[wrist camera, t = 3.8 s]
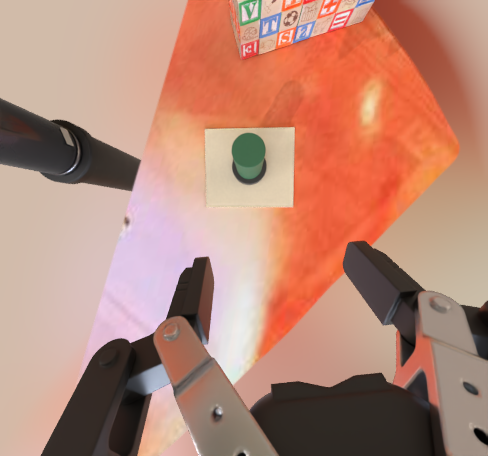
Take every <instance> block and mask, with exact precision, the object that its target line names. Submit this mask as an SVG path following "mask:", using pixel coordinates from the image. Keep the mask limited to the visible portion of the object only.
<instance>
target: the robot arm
mask: <svg viewBox="0 0 488 456" xmlns="http://www.w3.org/2000/svg"><path fill="white" fill-rule="evenodd" d="M82 156H83V150H82V145H81V142H80V140H79V138H78V137H77V135H76V134H75V133H74V132H73V131H71V130H70V129H68V128H66V127H63V126H61V125H58V124H55V123H53V122H51V121H49V120H47V119H45V118H43V117H40V116H38V115H36V114H34V113H31V112H29V111H27V110H25V109H23V108H21V107H18V106H16V105H14V104H12V103H9V102H7V101H5V100H3V99H1V98H0V164H3V165H8V166H13V167H19V168H24V169H29V170H34V171H39V172H44V173H48V174H52V175H57V176H65V175H69V174H71V173H73V172H74V171H75V170H76V169H77V168H78V167H79V165H80V163H81V161H82ZM343 268H344V271H345V273H346V275H347V276H348V277H349V279H350V280H351V282H352V283H353V284H354V286H355V287H356V288H357V290H358V291H359V292H360V294H361V295H362V297H363V298H364V299H365V301H366V302H367V304H368V305H369V307H370V308H371V309H372V311H373V312H374V313H375V315H376V316H377V318H378V319H379V320H380V321H381V323H382V324H383V325H389V324H390V325H391V324H394V325H395V327H396V328H397V329H398V330H397V332H396V374H395V377H394V380H393V384H391V383H388V382H387V381H386V379H385V378H384V376H383V374H382V373H375V374H364V375H356V376H353V377H351V378H349V379H347V380H345V381H343V382H341V383H339V384H337V385H335V386H333V387H323V386H318V385H314V384H309V383H304V382H299V381H298V382H287V383H278V384H271V393H269V394H267V395H265V396H264V397H262V398H261V399H260V400H258V401H257V402H256V403H255V404H254V405H253V407H252V408H251V409H250V410H248V408H247V407H246V405H245V404H244V402H243V401H242V399H241V398H240V396H239V394H238V393H237V391H236V390H235V388H234V387H233V385H232V384H231V382H230V381H229V379H228V378H227V376H226V375H225V373H224V372H223V370H222V369H221V367H220V366H219V364H218V363H217V361H216V360H215V359H214V358H212V357H211V356H210V355H209V353H208V352H207V350H206V349H205V347H204V344H208V339H209V330H210V320H211V310H212V301H213V291H214V277H213V272H212V268H211V263H210V259H209V257H199V258H195V259H194V263H193V267H191V268H186V269H185V270H184V271H183V272H182V274H181V275H180V278H179V281H178V285H177V287H176V291H175V293H174V296H173V299H172V302H171V305H170V309H169V312H168V315H167V318H166V320H165V321H163V322H162V323H161V324H160V325H159V326H158V328H157V329H156V331H155V332H154V333H153V334H151V335H149V336H147V337H144V338H142V339H140V340H137V341H135V342H132V343H129V341H128V340H126V339H122V338H121V339H115V340H112V341H110V342H108V343H107V344H105V345H104V346H103V347H101V348H100V349H99V350H98V351H97V352H96V353H95V355H94V356H93V357H92V359H91V361H90V362H89V364H88V366H87V368H86V370H85V372H84V374H83V376H82V378H81V380H80V382H79V383H78V385H77V387H76V389H75V391H74V393H73V395H72V397H71V399H70V401H69V402H68V404H67V406H66V408H65V410H64V412H63V414H62V416H61V418H60V420H59V422H58V423H57V426H56V427H55V429H54V431H53V433H52V435H51V437H50V439H49V441H48V443H47V444H46V446H45V448H44V450H43V453H42V454H41V456H137V454H138V450H139V446H140V442H141V437H142V433H143V429H144V425H145V421H146V417H147V412H148V408H149V404H150V400H151V396H152V392H154V391H156V390H158V389H160V388H162V387H164V386H166V385H168V384H170V383H171V385H172V387H173V390H174V396H175V399H176V402H177V404H178V406H179V409H180V411H181V414H182V416H183V419H184V421H185V423H186V426H187V428H188V431H189V433H190V435H191V438H192V440H193V442H194V445H195V447H196V450H197V452H198V455H199V456H488V301H487V302H485V304H484V305H483V306H482V307H481V308H477V307H472V306H465V305H459V304H458V303H457V302H456V301H454V300H453V299H451V298H450V297H447V296H446V295H443V294H441V293H438V292H434V291H426V290H424V289H423V288H422V287H421V286H420V285H419V284H418V283H417V282H416V281H415V280H413V279H412V278H411V277H410V276H409V275H408V274H407V273H406V272H404V271H403V270H402V269H401V268H399V266H398V265H397V264H396V263H395V262H393V261H392V260H391V259H390V258H389V257H388V256H387V255H386V254H384V253H382V252H381V251H379V250H377V249H373V248H372V247H371V246H370V245H369V244H368V243H367V242H366V241H355V242H349V243H348V245H347V248H346V253H345V257H344V261H343Z"/></svg>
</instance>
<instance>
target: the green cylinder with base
mask: <svg viewBox="0 0 488 456" xmlns="http://www.w3.org/2000/svg"><path fill="white" fill-rule="evenodd" d="M265 153H266V147H265V143H264V141H263V140H262V138H261V137H260V136H258V135H257V134H254V133H244V134H241V135H239V136H238V137H237V138H236V139H235V141H234V142H233V145H232V156H233V162H232V171H233V174H234V176H235V178H236V179H237V180H238V181H239V182H241V183H242V184H245V185H253V184H256V183H258V182H259V181H261V180H262V178H263V177H264V175H265V172H266V168H267V164H266V160H265V158H264V157H265Z"/></svg>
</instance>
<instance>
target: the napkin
mask: <svg viewBox="0 0 488 456" xmlns="http://www.w3.org/2000/svg"><path fill="white" fill-rule="evenodd" d="M244 133H254V134H257V135H258V136H260V137H261V138H262V140H263V141H264V143H265V147H266V153H265V157H264V158H265V160H266V164H267V168H266V172H265V175H264V177H263V178H262V180H261V181H259V182H258V183H256V184H253V185H245V184H242V183H241V182H239V181H238V180H237V179H236V178H235V176H234V174H233V171H232V162H233V156H232V145H233V142H234V141H235V139H236V138H237V137H238V136H239V135H241V134H244ZM294 141H295V127H277V128H226V129H205V168H206V207H293V193H294Z"/></svg>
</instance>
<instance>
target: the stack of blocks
mask: <svg viewBox="0 0 488 456" xmlns="http://www.w3.org/2000/svg"><path fill="white" fill-rule="evenodd" d="M373 3H374V0H229V6H230V14H231V23H232V27H233V31H234V35H235V39H236V42H237V47H238V50H239V54H240V57H241V60H243V59H246V58H249V57H251V56H254V55H257V54H263V53H266V52H269V51H272V50H274V49H278V48H281V47H284V46H287V45H291V44H292V43H295V42H298V41H301V40H304V39H308V38H309V37H313V36H316V35H319V34H323V33H326V32H330V31H334V30H337V29H340V28H343V27H345V26H350V25H353V24H356V23H359V22H362V21H363V20H364V18H365V16H366V15H367V13H368V11H369V10H370V8H371V6H372V5H373Z"/></svg>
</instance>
